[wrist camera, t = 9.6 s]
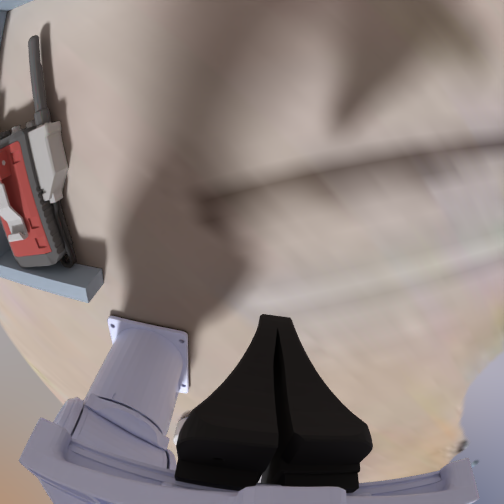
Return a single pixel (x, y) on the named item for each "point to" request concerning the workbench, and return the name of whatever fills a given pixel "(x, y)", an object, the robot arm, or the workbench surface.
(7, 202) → the walkie-talkie
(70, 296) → the centring jig
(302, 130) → the workbench surface
